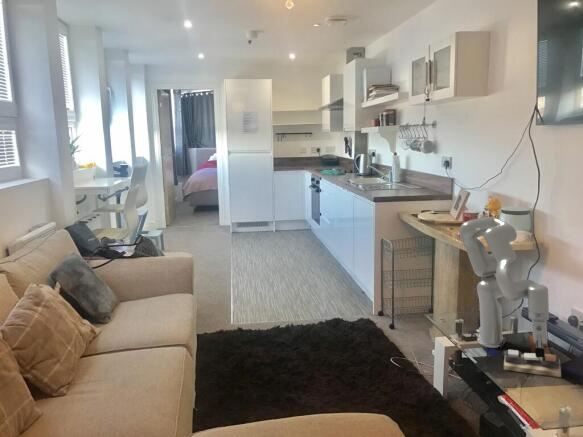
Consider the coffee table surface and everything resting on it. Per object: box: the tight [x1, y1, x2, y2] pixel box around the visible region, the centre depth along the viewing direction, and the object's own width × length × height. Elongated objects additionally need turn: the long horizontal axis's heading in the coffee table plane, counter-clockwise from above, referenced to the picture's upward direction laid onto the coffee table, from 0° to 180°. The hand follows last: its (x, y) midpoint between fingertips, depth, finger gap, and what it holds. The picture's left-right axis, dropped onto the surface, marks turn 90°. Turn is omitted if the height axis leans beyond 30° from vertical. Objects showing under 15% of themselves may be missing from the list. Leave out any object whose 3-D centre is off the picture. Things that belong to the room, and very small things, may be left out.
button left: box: [508, 349, 520, 358], centre depth 197 cm, size 4×4×2 cm
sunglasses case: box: [527, 333, 552, 355], centre depth 208 cm, size 18×7×7 cm
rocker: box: [523, 352, 539, 360], centre depth 194 cm, size 6×4×1 cm
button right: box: [545, 353, 557, 362], centre depth 190 cm, size 4×4×2 cm
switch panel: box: [503, 349, 562, 378], centre depth 194 cm, size 21×12×4 cm, turn 63°
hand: (539, 355), depth 191 cm, fingers closed
